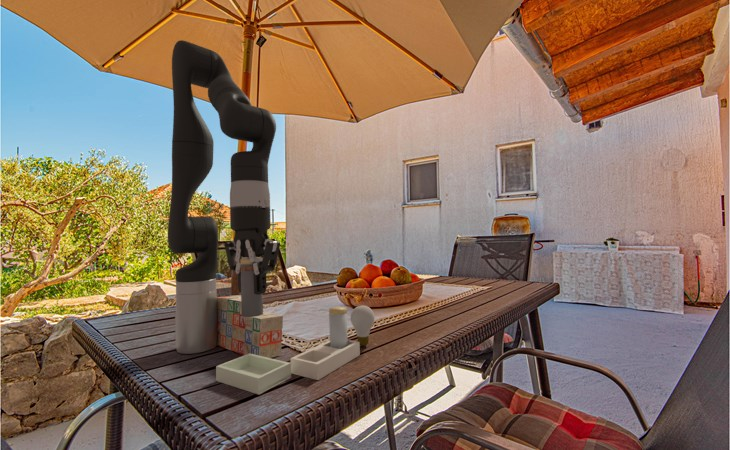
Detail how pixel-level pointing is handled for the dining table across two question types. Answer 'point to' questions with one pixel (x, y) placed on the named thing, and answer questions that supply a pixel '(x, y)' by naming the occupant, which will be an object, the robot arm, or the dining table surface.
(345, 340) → the fuse
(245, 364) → the parts tray
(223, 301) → the stack of blocks
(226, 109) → the robot arm
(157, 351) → the dining table surface
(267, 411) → the dining table surface
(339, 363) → the tray
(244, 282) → the cylinder
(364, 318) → the light bulb
